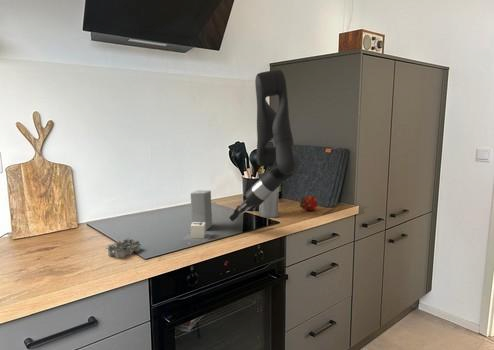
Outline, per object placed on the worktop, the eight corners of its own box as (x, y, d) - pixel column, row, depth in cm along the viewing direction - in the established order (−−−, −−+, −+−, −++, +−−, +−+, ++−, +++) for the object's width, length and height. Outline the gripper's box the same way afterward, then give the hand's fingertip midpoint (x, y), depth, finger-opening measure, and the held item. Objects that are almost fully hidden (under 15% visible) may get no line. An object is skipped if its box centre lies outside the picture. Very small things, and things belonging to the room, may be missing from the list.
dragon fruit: (299, 215, 182) (313, 214, 190) (311, 207, 177) (326, 207, 185) (293, 199, 185) (307, 200, 194) (305, 192, 180) (319, 192, 188)
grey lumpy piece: (119, 260, 119) (118, 248, 119) (104, 255, 123) (103, 244, 123) (144, 250, 128) (143, 239, 128) (129, 246, 132) (129, 235, 132)
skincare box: (206, 231, 150) (206, 193, 148) (190, 229, 152) (189, 192, 149) (213, 225, 158) (212, 189, 156) (197, 224, 160) (197, 189, 157)
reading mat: (190, 232, 149) (190, 231, 149) (214, 233, 147) (214, 233, 147) (181, 240, 139) (181, 239, 139) (206, 241, 138) (206, 241, 137)
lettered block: (193, 234, 146) (192, 221, 145) (205, 234, 146) (205, 221, 145) (190, 238, 141) (190, 225, 140) (203, 238, 141) (203, 225, 140)
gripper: (259, 182, 150) (232, 209, 156) (247, 187, 138) (218, 216, 144) (271, 196, 149) (243, 222, 155) (260, 202, 137) (230, 230, 143)
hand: (231, 219), depth 150 cm, fingers closed
